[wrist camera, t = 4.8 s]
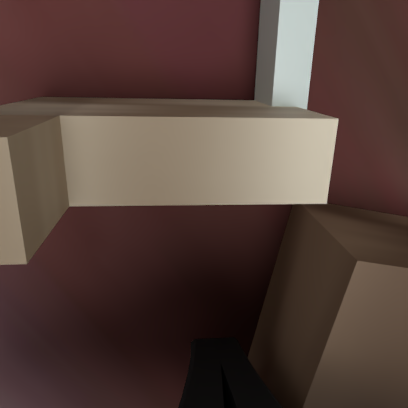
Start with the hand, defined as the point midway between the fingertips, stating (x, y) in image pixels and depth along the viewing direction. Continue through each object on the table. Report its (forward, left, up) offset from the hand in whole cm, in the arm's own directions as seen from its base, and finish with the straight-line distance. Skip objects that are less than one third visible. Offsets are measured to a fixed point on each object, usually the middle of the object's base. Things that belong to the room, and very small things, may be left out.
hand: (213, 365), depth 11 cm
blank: (+4, -1, -2) cm, 4 cm away
